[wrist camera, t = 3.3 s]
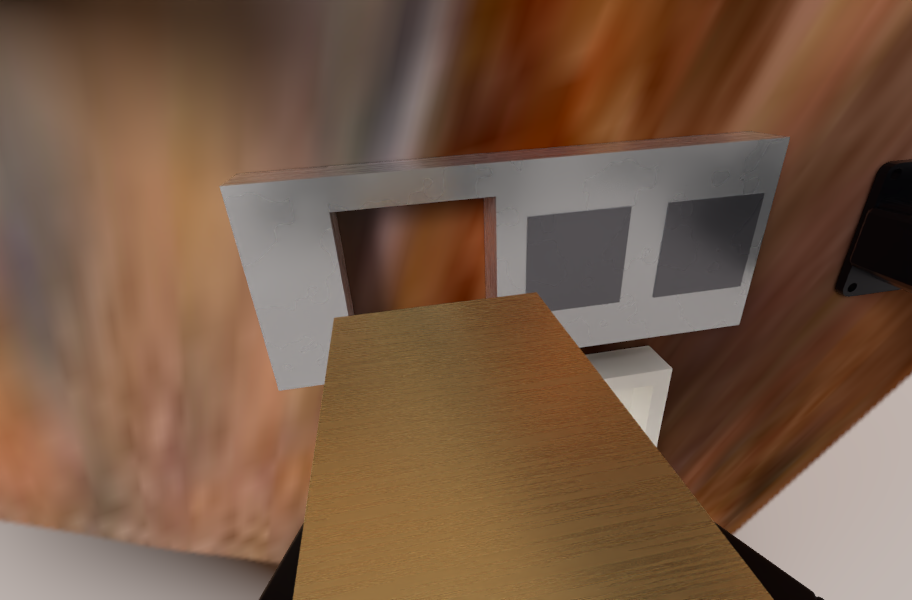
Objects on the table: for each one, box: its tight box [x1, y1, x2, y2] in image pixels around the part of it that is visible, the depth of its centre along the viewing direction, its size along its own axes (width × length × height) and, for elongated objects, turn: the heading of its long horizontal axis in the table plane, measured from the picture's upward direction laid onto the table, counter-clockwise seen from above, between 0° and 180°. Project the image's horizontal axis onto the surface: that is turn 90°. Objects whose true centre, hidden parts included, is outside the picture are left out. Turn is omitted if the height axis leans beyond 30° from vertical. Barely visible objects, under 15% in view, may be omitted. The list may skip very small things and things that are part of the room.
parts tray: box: [585, 346, 673, 448], centre depth 23 cm, size 10×10×2 cm
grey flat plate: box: [220, 131, 790, 391], centre depth 18 cm, size 20×8×2 cm, turn 93°
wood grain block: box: [293, 292, 774, 600], centre depth 8 cm, size 4×4×7 cm
